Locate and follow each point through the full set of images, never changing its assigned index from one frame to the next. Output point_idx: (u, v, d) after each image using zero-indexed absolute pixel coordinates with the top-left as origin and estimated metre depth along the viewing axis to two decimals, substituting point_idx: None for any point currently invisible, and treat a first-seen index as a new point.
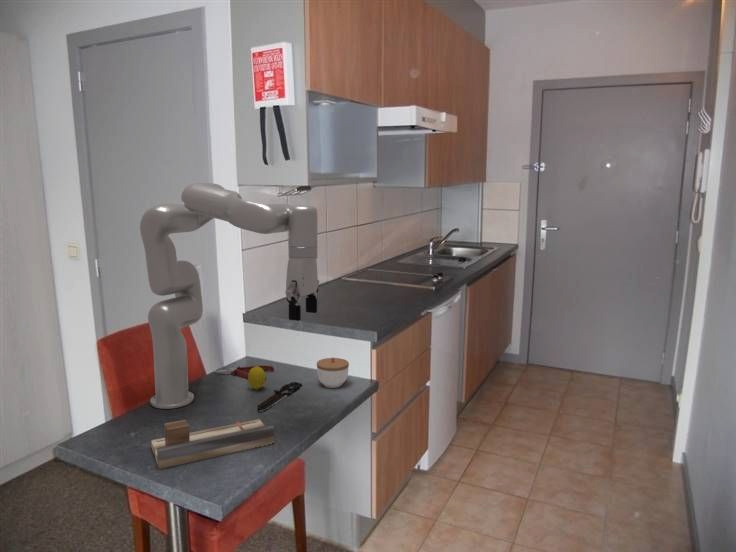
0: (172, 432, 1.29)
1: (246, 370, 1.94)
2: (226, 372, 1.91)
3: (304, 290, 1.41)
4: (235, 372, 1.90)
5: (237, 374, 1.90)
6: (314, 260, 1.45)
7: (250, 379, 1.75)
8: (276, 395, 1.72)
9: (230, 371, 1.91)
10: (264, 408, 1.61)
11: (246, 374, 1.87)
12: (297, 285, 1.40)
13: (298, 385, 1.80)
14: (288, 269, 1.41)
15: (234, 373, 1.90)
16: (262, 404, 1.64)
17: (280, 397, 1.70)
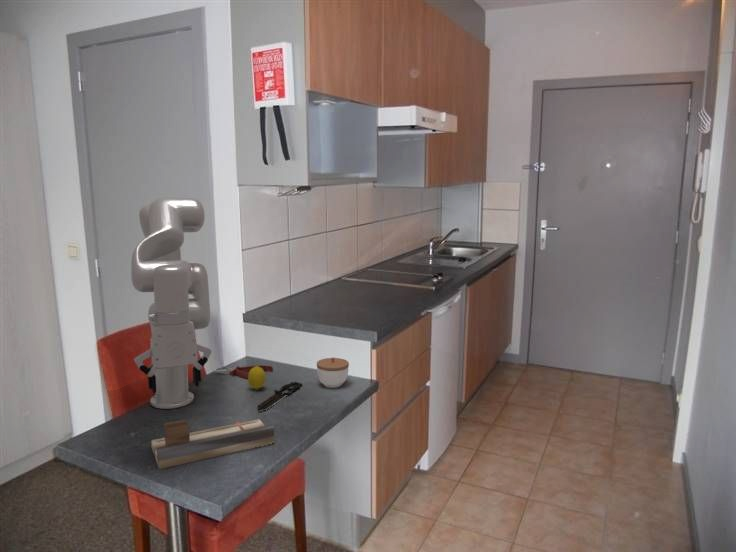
0: (172, 432, 1.29)
1: (245, 370, 1.94)
2: (225, 372, 1.91)
3: None
4: (234, 372, 1.90)
5: (236, 374, 1.90)
6: None
7: (250, 379, 1.75)
8: (276, 395, 1.72)
9: (229, 371, 1.91)
10: (264, 408, 1.61)
11: (245, 374, 1.87)
12: None
13: (298, 385, 1.80)
14: None
15: (233, 373, 1.90)
16: (262, 404, 1.64)
17: (280, 397, 1.70)
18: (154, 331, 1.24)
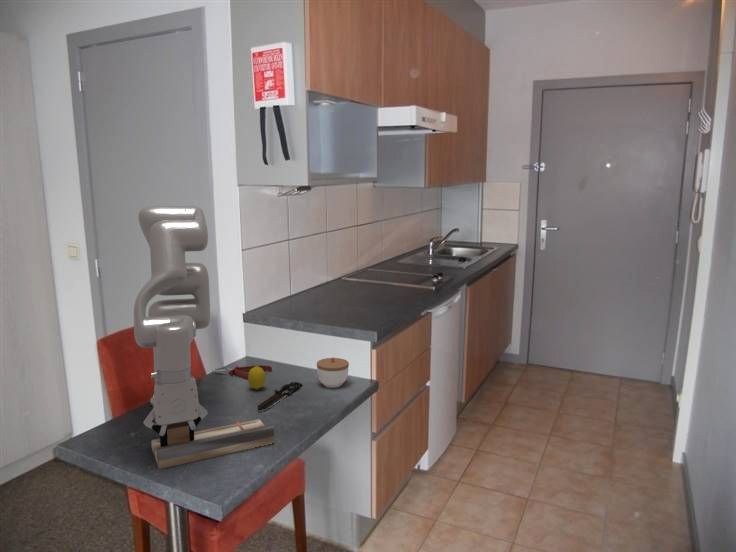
0: (172, 432, 1.29)
1: (244, 370, 1.94)
2: (224, 372, 1.91)
3: None
4: (233, 372, 1.90)
5: (235, 374, 1.90)
6: None
7: (250, 379, 1.75)
8: (276, 395, 1.72)
9: (228, 371, 1.91)
10: (264, 408, 1.61)
11: (244, 374, 1.87)
12: None
13: (298, 385, 1.80)
14: (196, 389, 1.31)
15: (232, 373, 1.90)
16: (262, 404, 1.64)
17: (280, 397, 1.70)
18: (157, 390, 1.26)
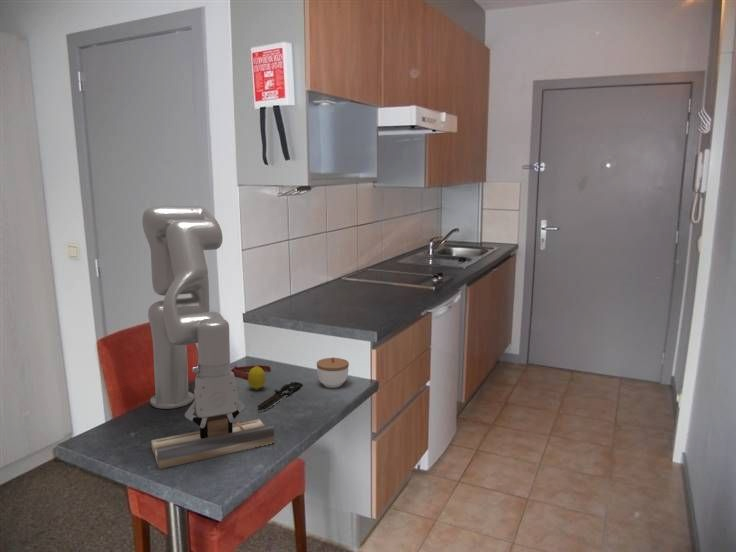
0: (212, 424, 1.34)
1: (243, 370, 1.94)
2: None
3: None
4: None
5: (234, 374, 1.90)
6: None
7: (250, 379, 1.75)
8: (276, 395, 1.72)
9: None
10: (264, 408, 1.61)
11: (242, 374, 1.88)
12: None
13: (298, 385, 1.80)
14: (235, 383, 1.35)
15: None
16: (262, 404, 1.64)
17: (280, 397, 1.70)
18: (198, 383, 1.31)
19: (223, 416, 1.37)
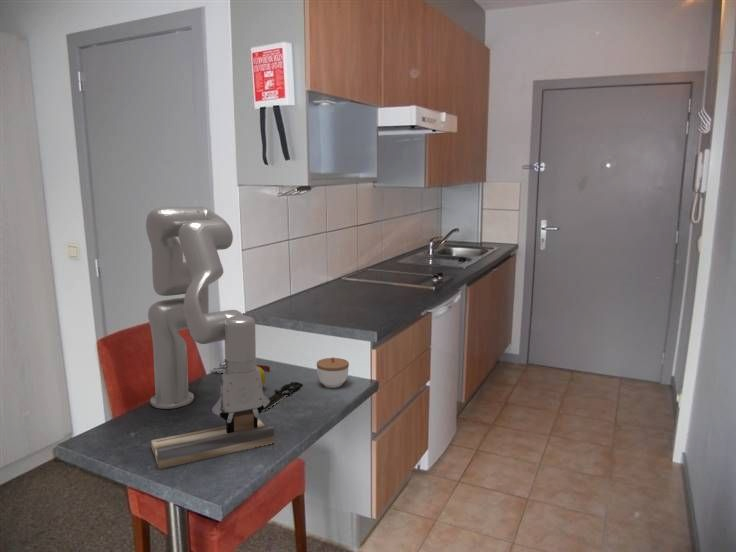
0: (238, 419, 1.37)
1: None
2: (222, 371, 1.92)
3: None
4: None
5: None
6: None
7: None
8: (276, 395, 1.72)
9: None
10: (265, 408, 1.61)
11: None
12: None
13: (298, 385, 1.80)
14: None
15: None
16: None
17: (280, 397, 1.70)
18: (225, 379, 1.34)
19: (249, 411, 1.40)
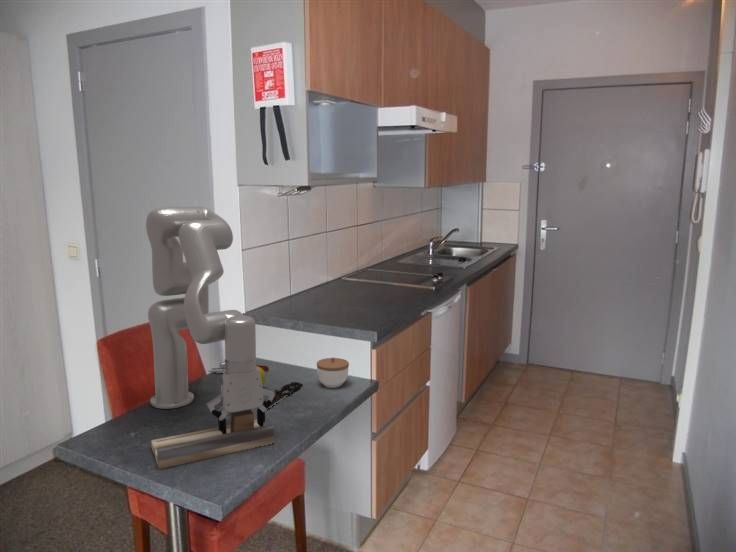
0: (239, 419, 1.37)
1: None
2: (221, 371, 1.92)
3: None
4: None
5: None
6: None
7: None
8: (277, 395, 1.72)
9: None
10: None
11: None
12: None
13: (299, 385, 1.80)
14: None
15: None
16: None
17: (281, 397, 1.70)
18: (226, 379, 1.34)
19: (249, 411, 1.40)
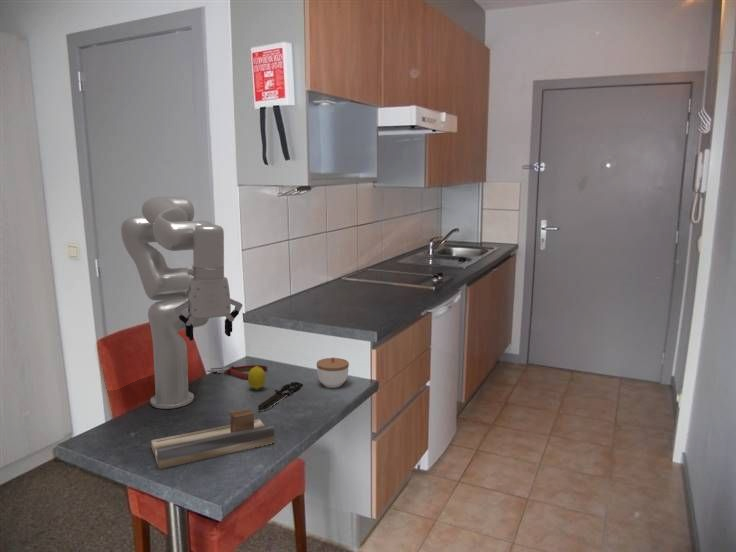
0: (239, 419, 1.37)
1: (239, 369, 1.94)
2: (219, 371, 1.92)
3: None
4: (228, 371, 1.91)
5: (230, 373, 1.90)
6: None
7: (250, 379, 1.75)
8: (277, 395, 1.72)
9: (223, 370, 1.92)
10: (265, 408, 1.62)
11: (239, 373, 1.88)
12: None
13: (299, 385, 1.80)
14: (228, 288, 1.41)
15: (227, 372, 1.90)
16: (263, 404, 1.64)
17: (281, 397, 1.70)
18: (193, 285, 1.36)
19: (249, 411, 1.40)
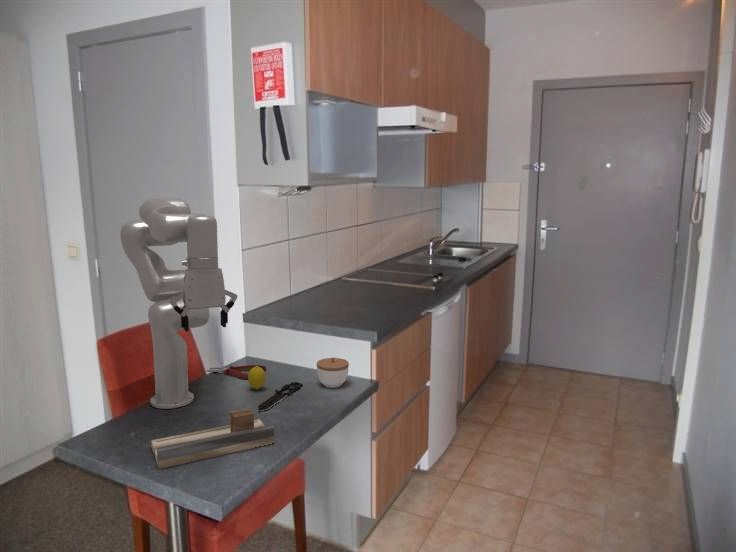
0: (239, 419, 1.37)
1: (238, 369, 1.94)
2: (218, 371, 1.92)
3: None
4: (227, 371, 1.91)
5: (229, 373, 1.91)
6: None
7: (250, 379, 1.75)
8: (277, 395, 1.72)
9: (222, 370, 1.92)
10: (265, 408, 1.62)
11: (238, 373, 1.88)
12: None
13: (299, 385, 1.80)
14: None
15: (226, 372, 1.90)
16: (263, 404, 1.64)
17: (281, 397, 1.70)
18: (187, 275, 1.37)
19: (249, 411, 1.40)
